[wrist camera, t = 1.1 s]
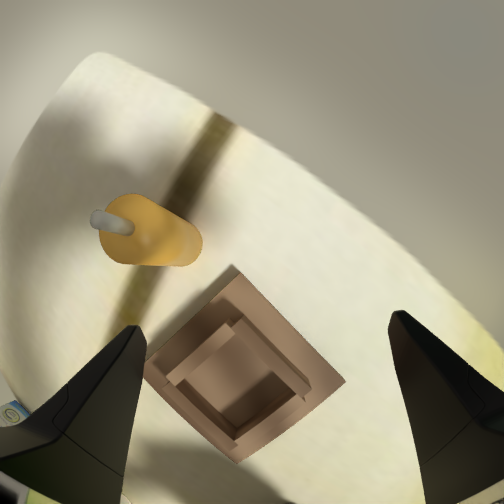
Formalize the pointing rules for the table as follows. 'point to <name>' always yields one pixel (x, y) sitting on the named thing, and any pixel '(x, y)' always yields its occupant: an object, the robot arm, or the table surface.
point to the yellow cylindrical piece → (145, 233)
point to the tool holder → (240, 372)
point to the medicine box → (12, 414)
